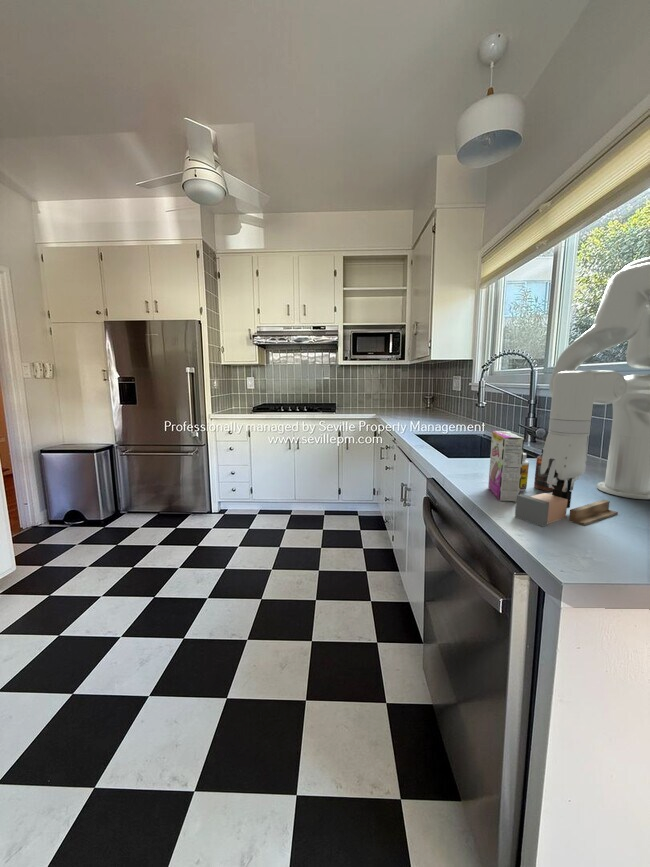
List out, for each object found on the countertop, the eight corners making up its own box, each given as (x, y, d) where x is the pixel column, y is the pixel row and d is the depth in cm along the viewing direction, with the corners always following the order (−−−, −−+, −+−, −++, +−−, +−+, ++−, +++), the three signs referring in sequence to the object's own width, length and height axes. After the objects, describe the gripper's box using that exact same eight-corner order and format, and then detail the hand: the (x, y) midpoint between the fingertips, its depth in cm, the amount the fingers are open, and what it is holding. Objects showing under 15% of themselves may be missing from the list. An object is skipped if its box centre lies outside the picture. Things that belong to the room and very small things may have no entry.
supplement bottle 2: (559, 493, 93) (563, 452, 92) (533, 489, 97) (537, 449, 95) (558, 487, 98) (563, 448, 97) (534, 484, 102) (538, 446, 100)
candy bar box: (486, 488, 98) (491, 430, 95) (505, 489, 97) (510, 431, 94) (498, 501, 87) (503, 436, 84) (519, 503, 86) (525, 437, 84)
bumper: (519, 515, 78) (521, 494, 77) (546, 525, 73) (549, 502, 72) (514, 516, 77) (516, 495, 76) (542, 526, 72) (544, 503, 71)
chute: (555, 496, 91) (556, 487, 90) (617, 514, 79) (618, 503, 79) (522, 505, 84) (523, 495, 84) (584, 525, 72) (585, 514, 72)
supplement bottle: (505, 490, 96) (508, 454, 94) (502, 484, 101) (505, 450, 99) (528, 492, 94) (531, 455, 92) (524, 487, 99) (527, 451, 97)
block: (542, 511, 81) (544, 492, 81) (565, 518, 77) (567, 499, 76) (521, 517, 78) (523, 498, 77) (544, 525, 73) (546, 505, 72)
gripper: (569, 423, 84) (561, 497, 86) (531, 427, 77) (524, 506, 80) (606, 427, 77) (596, 506, 80) (568, 431, 70) (558, 518, 73)
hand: (560, 506), depth 80 cm, fingers closed
